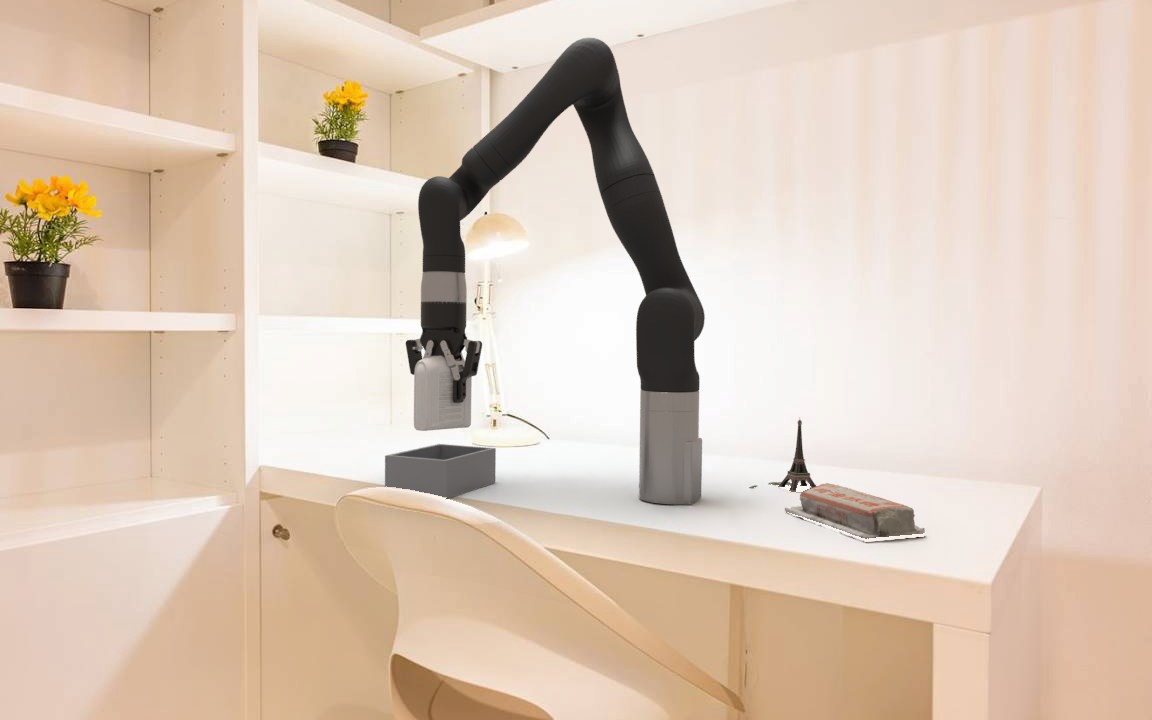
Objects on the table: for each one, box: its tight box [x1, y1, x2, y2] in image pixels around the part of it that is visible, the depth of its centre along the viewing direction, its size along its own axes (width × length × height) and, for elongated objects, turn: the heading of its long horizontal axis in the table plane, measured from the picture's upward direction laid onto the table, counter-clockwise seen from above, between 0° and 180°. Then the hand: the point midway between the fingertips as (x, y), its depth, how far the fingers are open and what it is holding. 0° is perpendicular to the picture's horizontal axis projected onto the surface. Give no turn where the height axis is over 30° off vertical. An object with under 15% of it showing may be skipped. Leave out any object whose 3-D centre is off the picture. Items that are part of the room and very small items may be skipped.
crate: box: [384, 443, 497, 499], centre depth 135 cm, size 12×16×6 cm
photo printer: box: [413, 355, 473, 432], centre depth 134 cm, size 10×4×12 cm, turn 136°
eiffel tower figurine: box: [749, 418, 817, 493], centre depth 137 cm, size 15×10×13 cm
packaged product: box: [784, 482, 926, 539], centre depth 112 cm, size 18×5×10 cm
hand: (443, 401), depth 135 cm, fingers closed on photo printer, 5 cm apart
